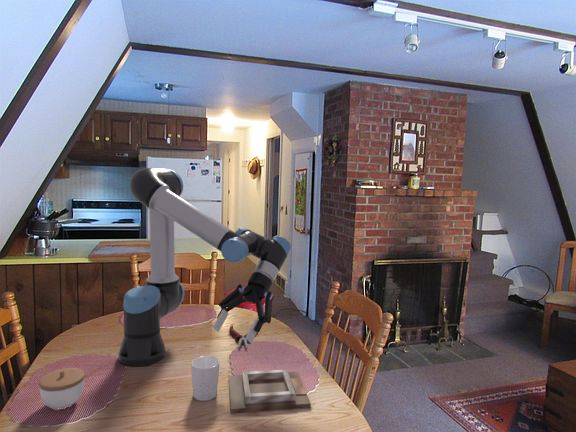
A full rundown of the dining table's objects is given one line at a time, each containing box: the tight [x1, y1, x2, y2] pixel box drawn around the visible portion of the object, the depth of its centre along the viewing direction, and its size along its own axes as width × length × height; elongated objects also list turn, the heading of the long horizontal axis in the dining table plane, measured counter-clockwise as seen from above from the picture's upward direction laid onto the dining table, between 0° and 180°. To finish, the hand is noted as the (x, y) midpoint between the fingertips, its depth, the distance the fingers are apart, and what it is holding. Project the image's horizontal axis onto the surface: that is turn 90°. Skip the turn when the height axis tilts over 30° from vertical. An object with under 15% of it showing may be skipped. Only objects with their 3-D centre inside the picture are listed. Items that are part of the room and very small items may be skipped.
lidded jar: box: [38, 367, 85, 409], centre depth 109 cm, size 11×11×9 cm
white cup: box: [190, 355, 220, 402], centre depth 116 cm, size 8×8×10 cm
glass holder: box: [228, 369, 312, 414], centre depth 118 cm, size 22×18×3 cm
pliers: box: [228, 324, 258, 350], centre depth 156 cm, size 12×20×3 cm, turn 5°
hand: (231, 335), depth 123 cm, fingers open, 13 cm apart
